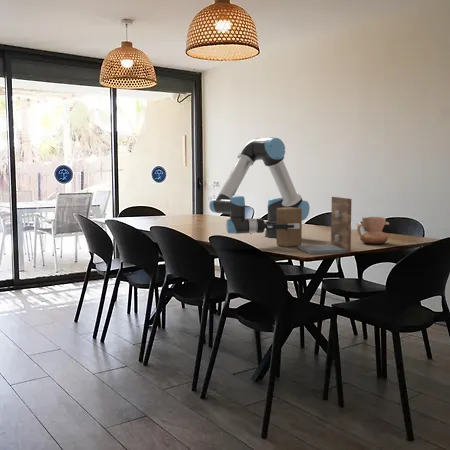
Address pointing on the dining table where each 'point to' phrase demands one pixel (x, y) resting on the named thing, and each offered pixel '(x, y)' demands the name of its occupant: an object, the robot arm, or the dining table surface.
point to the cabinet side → (341, 223)
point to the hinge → (362, 229)
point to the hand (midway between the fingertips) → (295, 224)
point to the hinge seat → (321, 249)
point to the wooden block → (291, 235)
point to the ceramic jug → (373, 230)
